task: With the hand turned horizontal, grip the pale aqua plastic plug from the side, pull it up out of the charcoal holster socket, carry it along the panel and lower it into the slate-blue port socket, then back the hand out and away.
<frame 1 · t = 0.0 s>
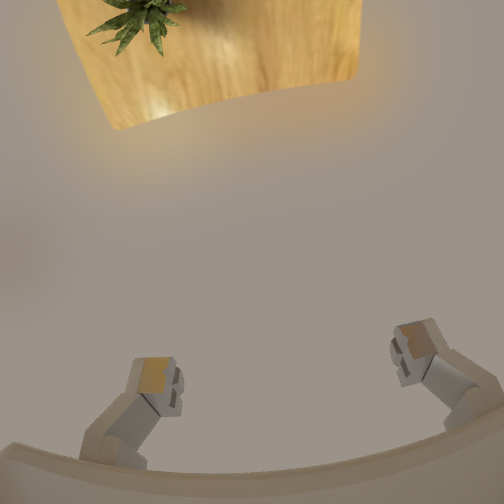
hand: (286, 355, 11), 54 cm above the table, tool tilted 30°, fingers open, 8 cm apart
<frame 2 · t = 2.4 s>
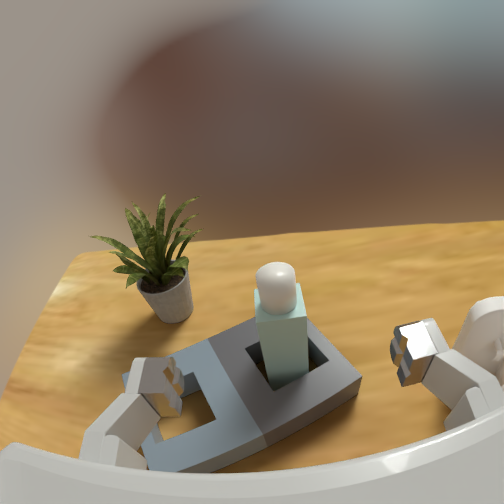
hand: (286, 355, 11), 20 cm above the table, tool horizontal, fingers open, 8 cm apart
socket panel: (238, 398, 30), on the table
house plant: (185, 310, 43), on the table
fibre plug: (288, 373, 32), resting in socket panel
cable organizer: (500, 402, 22), on the table
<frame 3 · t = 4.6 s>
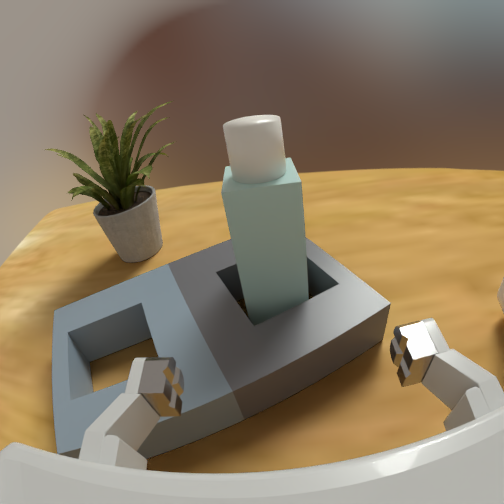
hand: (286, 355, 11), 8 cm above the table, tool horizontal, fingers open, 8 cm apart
socket panel: (205, 347, 22), on the table
house plant: (152, 249, 34), on the table
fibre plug: (279, 314, 23), resting in socket panel
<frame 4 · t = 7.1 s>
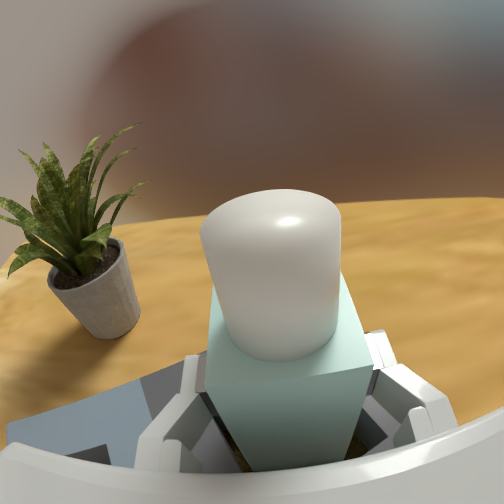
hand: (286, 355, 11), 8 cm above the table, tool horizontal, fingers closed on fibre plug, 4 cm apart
socket panel: (197, 493, 13), on the table
house plant: (128, 319, 25), on the table
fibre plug: (296, 448, 15), resting in socket panel, touching gripper
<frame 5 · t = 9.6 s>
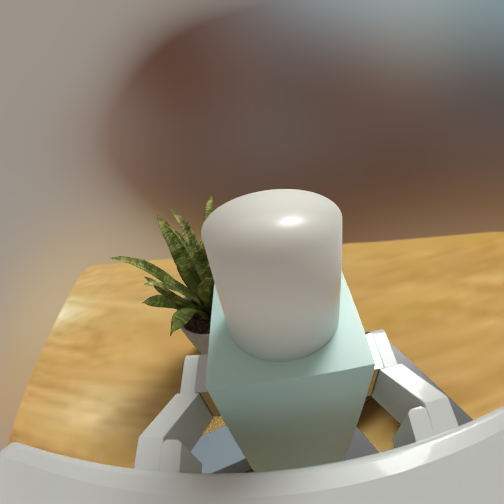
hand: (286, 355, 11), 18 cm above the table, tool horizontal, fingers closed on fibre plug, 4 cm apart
socket panel: (328, 465, 21), on the table
house plant: (237, 347, 33), on the table
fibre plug: (296, 448, 15), point 10 cm above the table, touching gripper
when the fingers open (9 cm above the table, at t = 12.2 s): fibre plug stays where it is, resting in socket panel.
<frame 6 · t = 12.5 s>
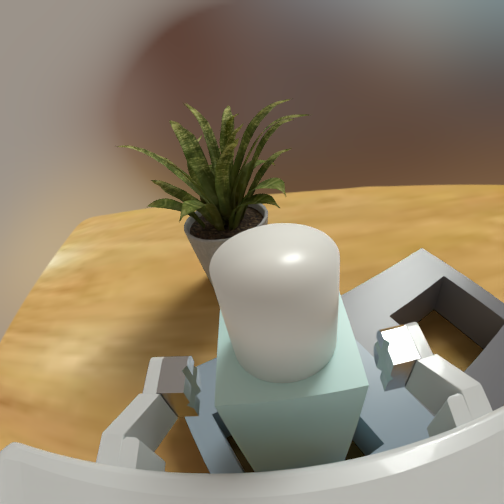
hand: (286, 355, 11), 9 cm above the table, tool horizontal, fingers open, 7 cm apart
socket panel: (378, 401, 17), on the table
house plant: (253, 276, 29), on the table
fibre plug: (298, 453, 15), resting in socket panel
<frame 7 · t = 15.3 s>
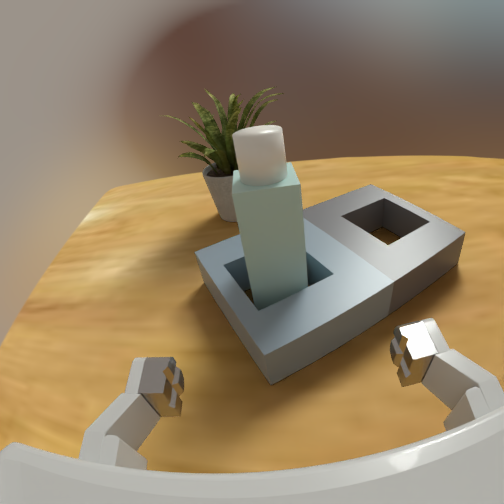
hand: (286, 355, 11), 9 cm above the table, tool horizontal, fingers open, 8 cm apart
socket panel: (337, 273, 28), on the table
house plant: (250, 211, 40), on the table
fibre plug: (281, 302, 26), resting in socket panel
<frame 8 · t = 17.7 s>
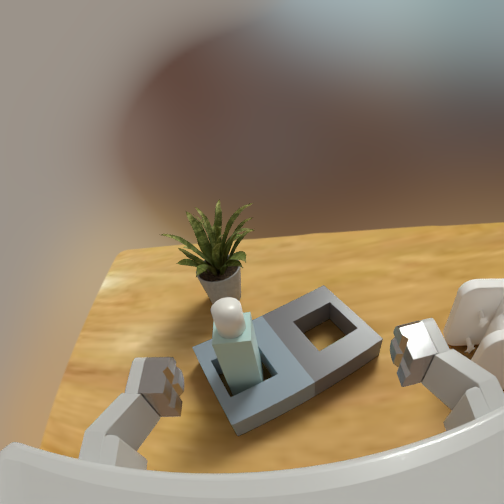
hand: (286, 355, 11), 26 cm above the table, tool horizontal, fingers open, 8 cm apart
socket panel: (287, 361, 40), on the table
house plant: (234, 297, 53), on the table
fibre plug: (248, 382, 38), resting in socket panel
cable organizer: (488, 363, 32), on the table
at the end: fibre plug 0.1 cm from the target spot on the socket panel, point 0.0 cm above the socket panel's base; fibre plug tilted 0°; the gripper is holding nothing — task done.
